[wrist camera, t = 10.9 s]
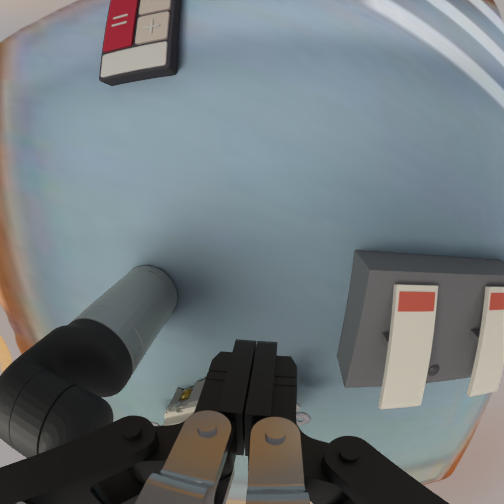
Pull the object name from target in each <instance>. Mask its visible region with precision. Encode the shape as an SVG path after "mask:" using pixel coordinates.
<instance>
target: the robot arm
mask: <svg viewBox="0 0 504 504" xmlns="http://www.w3.org/2000/svg"><path fill="white" fill-rule="evenodd" d="M176 304H177V291H176V287H175V285H174V283H173V282H172V280H171V279H170V277H169V276H168V275H167V274H166V273H164V272H163V271H162V270H160V269H158V268H156V267H153V266H139V267H136V268H134V269H133V270H131V271H130V272H129V273H128V274H127V275H125V276H124V277H123V278H122V279H120V280H119V281H118V282H117V283H116V284H115V285H113V286H112V287H111V288H110V289H109V290H107V291H106V292H105V293H104V294H103V295H102V296H100V297H99V298H98V299H97V300H96V301H95V302H93V303H92V304H91V305H90V306H89V307H88V308H87V309H85V310H84V311H83V312H82V313H81V314H80V315H79V316H78V317H77V318H75V319H74V320H73V321H72V322H71V323H70V324H69V325H66V326H61V327H58V328H56V329H54V330H53V331H52V332H50V333H49V334H48V335H46V336H45V337H44V338H43V339H41V340H40V341H39V342H37V343H36V344H35V345H34V346H32V347H31V348H30V349H28V350H27V351H26V352H24V353H23V354H22V355H21V356H19V357H18V358H17V359H16V360H15V361H14V362H12V363H11V364H10V365H9V366H8V367H7V369H6V370H5V371H4V372H3V373H2V374H1V376H0V438H1V439H2V440H3V441H4V442H6V443H7V444H8V445H10V446H11V447H12V448H14V449H15V450H16V451H18V452H19V453H21V454H22V455H23V456H25V457H26V458H27V459H24V460H21V461H18V462H15V463H12V464H10V465H7V466H4V467H1V468H0V504H226V500H227V497H228V494H229V490H230V487H231V484H232V480H233V477H234V462H235V457H236V455H243V454H244V448H245V456H248V489H247V496H246V504H310V501H312V503H313V504H449V503H448V502H446V501H444V500H443V499H442V498H440V497H439V496H438V495H436V494H434V493H433V492H432V491H430V490H429V489H428V488H426V487H425V486H423V485H422V484H421V483H419V482H418V481H417V480H415V479H414V478H413V477H411V476H410V475H409V474H407V473H406V472H405V471H403V470H402V469H401V468H399V467H398V466H397V465H395V464H394V463H393V462H391V461H390V460H389V459H388V458H386V457H385V456H384V455H382V454H381V453H380V452H379V451H377V450H376V449H375V448H374V447H372V446H371V445H370V444H369V443H367V442H366V441H365V440H363V439H361V438H358V437H354V436H343V437H339V438H336V439H334V440H333V441H331V442H330V443H326V442H322V441H319V440H315V439H312V438H310V437H308V436H307V435H305V434H304V433H303V432H302V431H301V430H300V429H299V427H298V425H297V421H296V400H297V388H296V387H297V379H296V378H297V366H296V364H295V363H294V361H293V359H292V358H291V357H290V356H276V354H277V342H265V341H257V346H256V341H251V340H238V339H236V341H235V345H234V349H233V352H220V353H219V354H218V355H217V356H216V357H215V358H214V359H213V360H212V362H211V365H210V368H209V372H208V374H207V377H206V380H205V382H204V385H203V388H202V391H201V394H200V397H199V400H198V403H197V406H196V409H195V411H194V413H193V414H192V415H191V416H189V417H188V418H187V419H186V420H185V421H183V422H181V423H179V424H175V425H165V426H154V425H153V424H152V423H151V422H150V421H149V420H148V419H146V418H144V417H141V416H127V417H124V418H121V419H119V420H117V421H115V422H113V412H112V409H111V406H110V405H109V403H108V402H107V401H105V400H104V399H102V398H101V397H109V396H113V395H115V394H117V393H119V392H120V391H121V390H122V389H123V388H124V387H125V385H126V384H127V382H128V380H129V379H130V377H131V375H132V374H133V372H134V371H135V369H136V368H137V366H138V364H139V363H140V361H141V359H142V358H143V356H144V355H145V353H146V352H147V350H148V349H149V347H150V346H151V344H152V342H153V341H154V339H155V338H156V336H157V335H158V333H159V332H160V330H161V329H162V327H163V326H164V324H165V323H166V321H167V320H168V318H169V317H170V315H171V314H172V312H173V311H174V309H175V307H176Z"/></svg>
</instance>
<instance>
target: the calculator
mask: <svg viewBox="0 0 504 504" xmlns="http://www.w3.org/2000/svg"><path fill="white" fill-rule="evenodd" d="M180 8H181V0H111V2H110V6H109V11H108V17H107V22H106V28H105V35H104V42H103V49H102V57H101V66H100V76H99V80H100V81H101V82H103V83H106V84H108V85H110V86H114V85H119V84H124V83H129V82H134V81H140V80H145V79H151V78H158V77H165V76H172V75H176V74H177V63H178V33H179V21H180Z"/></svg>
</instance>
